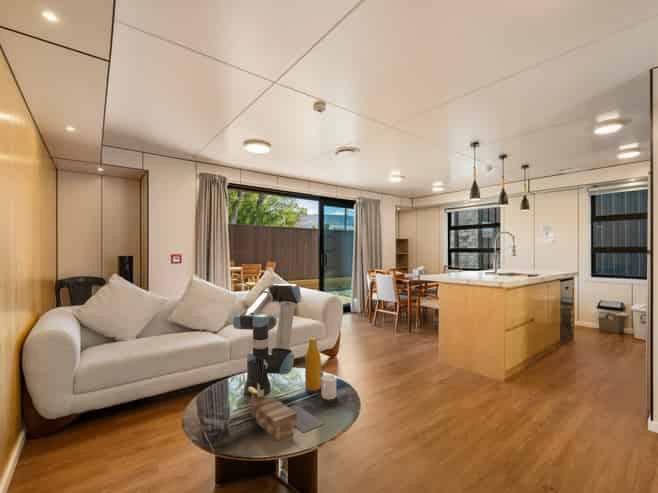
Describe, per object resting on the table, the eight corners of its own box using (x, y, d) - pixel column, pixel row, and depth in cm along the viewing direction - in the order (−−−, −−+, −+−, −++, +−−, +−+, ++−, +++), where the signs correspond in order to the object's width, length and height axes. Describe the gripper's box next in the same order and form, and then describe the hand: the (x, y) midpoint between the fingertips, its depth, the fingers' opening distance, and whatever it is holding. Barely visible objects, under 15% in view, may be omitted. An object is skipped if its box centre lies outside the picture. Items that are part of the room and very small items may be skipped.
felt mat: (276, 412, 159) (276, 412, 159) (296, 405, 167) (296, 404, 167) (303, 433, 141) (303, 432, 141) (324, 423, 149) (324, 423, 149)
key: (248, 390, 164) (248, 385, 164) (251, 389, 165) (251, 384, 165) (258, 397, 155) (258, 392, 155) (261, 396, 157) (261, 390, 157)
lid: (252, 412, 150) (252, 403, 150) (273, 405, 157) (273, 397, 157) (274, 430, 134) (274, 421, 134) (296, 422, 141) (296, 412, 141)
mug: (329, 404, 168) (329, 384, 168) (315, 401, 172) (315, 381, 172) (338, 394, 179) (338, 376, 179) (325, 392, 183) (325, 374, 183)
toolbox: (248, 416, 156) (248, 393, 156) (263, 410, 161) (263, 388, 161) (277, 441, 135) (277, 414, 135) (293, 434, 140) (293, 408, 140)
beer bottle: (302, 388, 188) (301, 339, 189) (312, 383, 196) (312, 335, 196) (314, 392, 183) (313, 341, 183) (324, 387, 190) (323, 338, 191)
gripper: (247, 345, 159) (247, 393, 158) (259, 351, 149) (259, 402, 148) (261, 342, 163) (261, 389, 163) (274, 348, 153) (274, 398, 153)
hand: (260, 395), depth 155 cm, fingers closed
